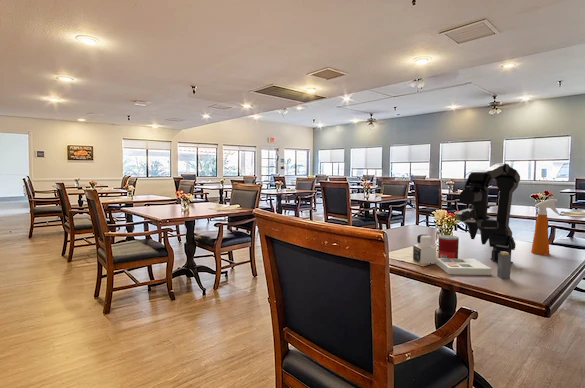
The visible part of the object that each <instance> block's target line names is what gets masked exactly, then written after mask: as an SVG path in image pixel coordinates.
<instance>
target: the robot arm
mask: <svg viewBox="0 0 585 388" xmlns="http://www.w3.org/2000/svg"><path fill="white" fill-rule="evenodd" d="M493 179H494V180H495V181H496V184H495V186H497V187H496V188H497V189H498V191H499V195H498V203H497V212H496V219H493V218H490V215H488V210H490V208H491V206H490V205H489V204H488V203H489V191H491V189H490V186H491V184H492V183H493ZM520 182H521V175H520V174H519V172H518V170H516V169H515V168H513V167H512V166H510V165H509V163H507V162H505V163H504V162H503V163H499V162H497V163H494V164H493V165H491V166H489V167H487V168H485V169H483V170H481V169H480V170H472V171H471V172H469V175H468V177H467V180H466V181H465V184H464V187H463V188H464V190H462V191H461V192H460V193H459V197H458V198H459V201H460V202H461V203H462V204H463V205H468V207H467V208H466V209H462V210H459V211H456V212H455V213H454V214H455V217H456V219H457V222H458V221H459V222H460V223H462V222H463V223H464V224H465V225H466V227H467V229H468V232H469V236H470V239H471V240H475V239H476V236H477V233H478V230H479V231H480V241H481V244H482V245H484V246H485V245H486V243H488V242H489V247H490V248H491V247H492V250H491V258H490V260H491V261H493V262H495V263H497V264H498V253H500V251H502V252H508V253H509V255H511V256H512V251H515V250H516V245H517V244H516V241H515V239H514V237H513V231H512V229H511V227H510V218H511V216H510V215H511V209H512V200H513V193H514V192H515V191H516V189H517V188H518V187H519V183H520ZM513 263H514V261H512V260H511V264H513Z"/></svg>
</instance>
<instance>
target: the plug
mask: <svg viewBox="0 0 585 388" xmlns="http://www.w3.org/2000/svg"><path fill="white" fill-rule="evenodd" d="M511 261H512V254H511V255H509V253H508V252H502V251H500V253H498V263H497V270H496V271H497V274H496V277H498V279H499V278H500V279H501V280H510V279H511V264H512V263H511Z"/></svg>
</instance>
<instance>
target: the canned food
mask: <svg viewBox="0 0 585 388" xmlns="http://www.w3.org/2000/svg"><path fill="white" fill-rule="evenodd" d="M459 241H460V240H459V237H458V236H457V235H451V234H440V235H438V256H437V257H438V258H453V259H459Z"/></svg>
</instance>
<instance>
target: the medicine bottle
mask: <svg viewBox="0 0 585 388" xmlns="http://www.w3.org/2000/svg"><path fill="white" fill-rule="evenodd" d="M416 238H417V240H416V242H417V243H416V244H413V247H412V249H413V250H412V260H413V261H414V262H415V263H417V264H419V265H436V258H437V248H436V247H435V246H433V236H432V235H429V234H424V233H423V234H419V235H417V237H416ZM430 263H431V264H430Z"/></svg>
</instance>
